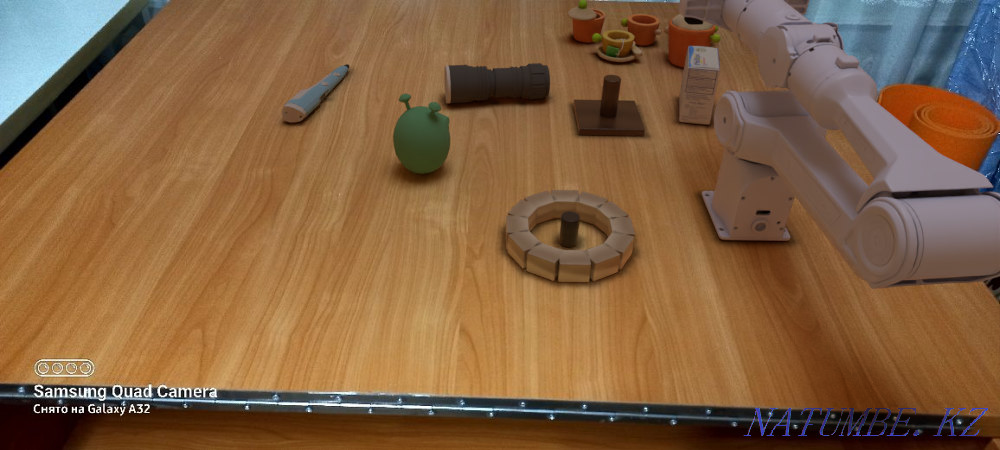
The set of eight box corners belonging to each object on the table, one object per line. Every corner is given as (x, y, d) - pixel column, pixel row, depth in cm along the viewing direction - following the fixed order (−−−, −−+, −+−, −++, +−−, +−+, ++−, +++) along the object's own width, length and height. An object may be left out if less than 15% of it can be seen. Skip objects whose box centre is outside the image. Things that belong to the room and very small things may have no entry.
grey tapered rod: (302, 126, 102) (299, 107, 100) (281, 123, 103) (278, 104, 101) (357, 70, 117) (355, 53, 116) (338, 68, 118) (336, 51, 116)
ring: (640, 283, 77) (643, 265, 75) (506, 281, 76) (507, 263, 75) (621, 207, 88) (623, 190, 86) (505, 205, 87) (505, 188, 86)
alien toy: (463, 161, 95) (462, 90, 90) (433, 190, 90) (430, 116, 84) (416, 148, 98) (413, 78, 92) (384, 175, 92) (378, 102, 86)
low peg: (577, 247, 81) (580, 221, 79) (559, 247, 81) (562, 221, 79) (576, 236, 83) (578, 211, 81) (558, 236, 83) (560, 210, 81)
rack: (643, 136, 102) (650, 93, 98) (578, 135, 102) (583, 91, 98) (633, 106, 109) (639, 65, 106) (573, 105, 109) (576, 64, 105)
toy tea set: (712, 37, 132) (723, -17, 127) (724, 73, 120) (736, 15, 114) (566, 28, 134) (570, -25, 129) (562, 63, 122) (567, 5, 116)
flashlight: (544, 88, 114) (546, 55, 110) (551, 104, 109) (554, 70, 106) (444, 93, 111) (443, 59, 108) (448, 109, 107) (447, 74, 104)
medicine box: (709, 126, 105) (721, 69, 100) (677, 122, 106) (687, 65, 101) (708, 102, 111) (719, 47, 106) (678, 98, 112) (687, 44, 107)
